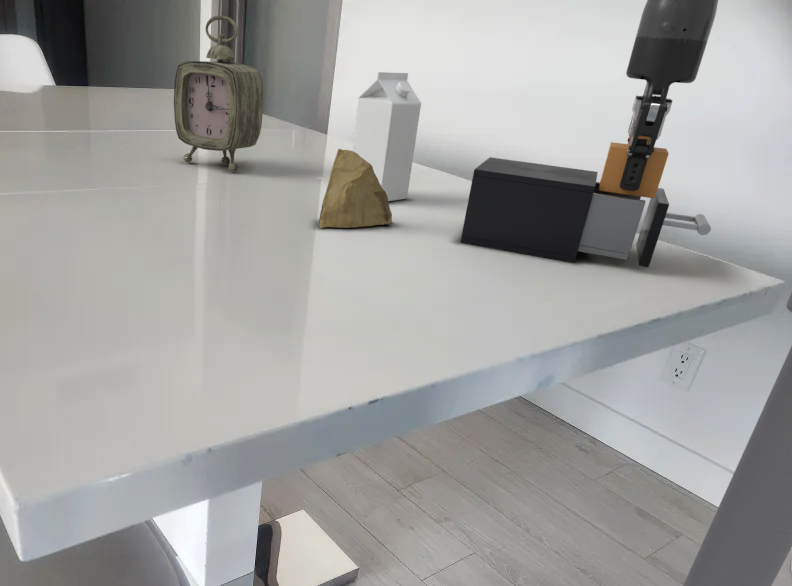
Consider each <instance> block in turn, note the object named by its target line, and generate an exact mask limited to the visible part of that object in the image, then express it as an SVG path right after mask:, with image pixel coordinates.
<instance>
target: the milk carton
mask: <svg viewBox="0 0 792 586" xmlns="http://www.w3.org/2000/svg"><path fill="white" fill-rule="evenodd" d="M376 77H377V79H376V80H375V82H373V83H372V84H371V85H370V86H369V87H367V89H366V90H365V91H364V92H363V93H362V94H361V95H360V96H359V97H358V98H357V107H356V117H355V125H354V134H353V143H352V144H353V145H352V151H354V152H355V153H357V154H358V155H359V156H360V157H362V158H363V159H364V160H366V161H367V162H368V163H370V164H371V165H372V167H373V170H374V173H375V175H376V177H377V178H378V180H379V183H380V185H381V187H382V188H383V190H384V191H385V192H386V194H387V197H388V201H389V202H393V201H400V200H405V199H408V193H409V187H410V180H411V174H412V166H413V161H414V154H415V148H416V141H417V134H418V127H419V121H420V115H421V114H420V113H421V107H422V102H421V100H420V98H419V97H418V95H417V94H416V93H415V91H414V89H413V88H412V86H411V84H410V82H409V81H408V78H409V73H408V72H386V71H384V72H383V71H378V72H377V76H376Z"/></svg>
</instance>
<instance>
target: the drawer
mask: <svg viewBox="0 0 792 586" xmlns="http://www.w3.org/2000/svg"><path fill="white" fill-rule="evenodd" d="M599 184H600V181H596V185H595V190H594V193H593V197H592V200H591V204H590V208H589V211H588V215H587V219H586V222H585V226H584V230H583V233H582V237H581V241H580V244H579V248H578V251H577V252H581V253H585V254H590V255H597V256H601V257H602V256H603V257H608V258H614V259H620V260H625V261H628V260H629V257H630V253H631V250H632V247H633V245H634V240H635V237H636V234H637V231H638V227H639V224H640V221H641V219H642V215H643V212H644V208H645V206H646V200H645V199H642V197H640V196H633V195H626V194H619V193H612V192H605V191H599ZM669 206H670V202H669V199H668V196H667V194H666V192H665V189H664V188H661V187H658V189H657V193H656V196H655V198H649V202H648V205H647V208H646V212H645V215H644V218H643V221H642V224H641V227H640V230H639V234H638V237H637V241H636V243H635V246H636V247H635V248H636V255H637V256H636V257H637V265H638V266H639V267H642V268H650V265H651V262H652V258H653V256H654V253H655V249H656V247H657V243H658V240H659V237H660V234H661V231H662V228H663V226H667V227H672V228H679V229H685V230H693V231H697V233H698V235H701V236H706V235H708V234H709V233H710V232H711V231H712V227H711V224H710V223H709V221H708V220H707V217H706V216H705V215H704V214H703V213H702V214H701V213H699V214H696V215H694V216H692V215H685V214H678V213H672V212H668V211H669Z"/></svg>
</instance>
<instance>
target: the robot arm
mask: <svg viewBox="0 0 792 586" xmlns="http://www.w3.org/2000/svg"><path fill="white" fill-rule="evenodd" d="M718 5H719V0H647V1H646V3H645V5H644V7H643V9H642V13H641V16H640V21H639V24H638V27H637V32H636V36H635V39H634V42H633V46H632V49H631V54H630V57H629V61H628V66H627V68H626V72H625V73H626V77H628V79H633V80H634V79H635V80H644V81H645V82H646V84H645V88H644V91H643V94H642V95H635V96H634V101H633V105H632V108H631V111H632V114H631V115H632V116H631V119H630V122H629V126H628V131H627V133H628V138H627V141H626V142H627V144H630V146H629V149H628V150H627V154H628V155H627V161H626V164H625V168H624V171H623V175H622V178H621V182H620V188H621V189H625V190H632V191H636V190H638V189H639V186H640V183H641V180H642V176H643V173H644V170H645V166H646V163H647V159H648V160H649V157H651V155H652V153H653V152H654V149H655V148H654V147H655V145H656V143H657V141H658V140H659V139H660V137H661V136H662V131H663V128H664V124H665V121H666V117H667V116H668V115H669V113H670V111H671V108H672V104H673V99H672V98H668V94H669V90H670V87H671V85H673V84H675V83H677V84H678V83H679V84H692V83H693V82H695V81H696V79H697V76H698V72H699V70H700V66H701V64H702V60H703V57H704V54H705V51H706V47H707V44H708V42H709V41H708V40H709V38H710V34H711V31H712V29H713V24H714V22H715V19H716V14H717V10H718Z"/></svg>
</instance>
